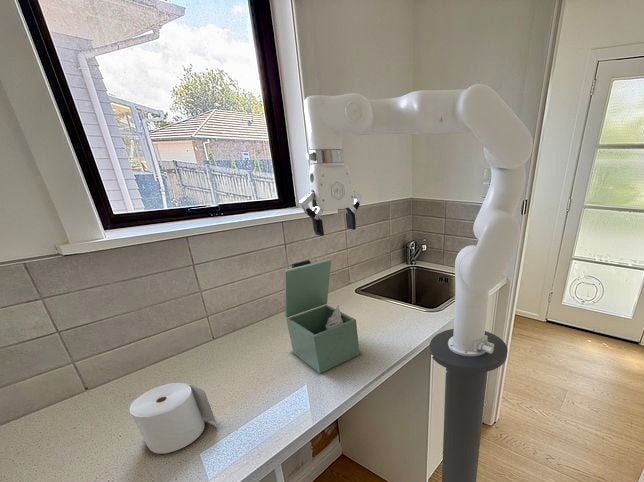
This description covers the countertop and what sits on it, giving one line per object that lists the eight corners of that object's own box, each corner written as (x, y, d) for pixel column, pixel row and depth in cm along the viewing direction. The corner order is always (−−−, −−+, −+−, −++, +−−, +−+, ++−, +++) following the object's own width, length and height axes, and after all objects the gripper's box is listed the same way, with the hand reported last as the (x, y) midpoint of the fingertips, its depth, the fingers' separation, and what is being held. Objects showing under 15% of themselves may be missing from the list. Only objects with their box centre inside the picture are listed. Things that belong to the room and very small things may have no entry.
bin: (359, 354, 101) (356, 319, 96) (320, 373, 92) (313, 336, 87) (331, 336, 111) (326, 304, 106) (293, 352, 102) (286, 318, 97)
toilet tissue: (141, 437, 73) (122, 401, 68) (200, 407, 81) (187, 373, 76) (157, 463, 66) (137, 425, 62) (219, 428, 74) (206, 392, 70)
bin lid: (331, 260, 95) (321, 251, 97) (285, 271, 86) (276, 261, 88) (327, 304, 105) (318, 294, 107) (286, 317, 97) (277, 307, 99)
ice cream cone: (336, 356, 99) (345, 309, 95) (319, 353, 98) (327, 305, 94) (339, 350, 104) (347, 304, 99) (322, 346, 103) (330, 300, 99)
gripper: (302, 159, 71) (313, 240, 79) (366, 157, 82) (371, 228, 89) (285, 159, 76) (298, 235, 84) (348, 157, 87) (354, 225, 94)
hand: (336, 231), depth 87 cm, fingers open, 9 cm apart
